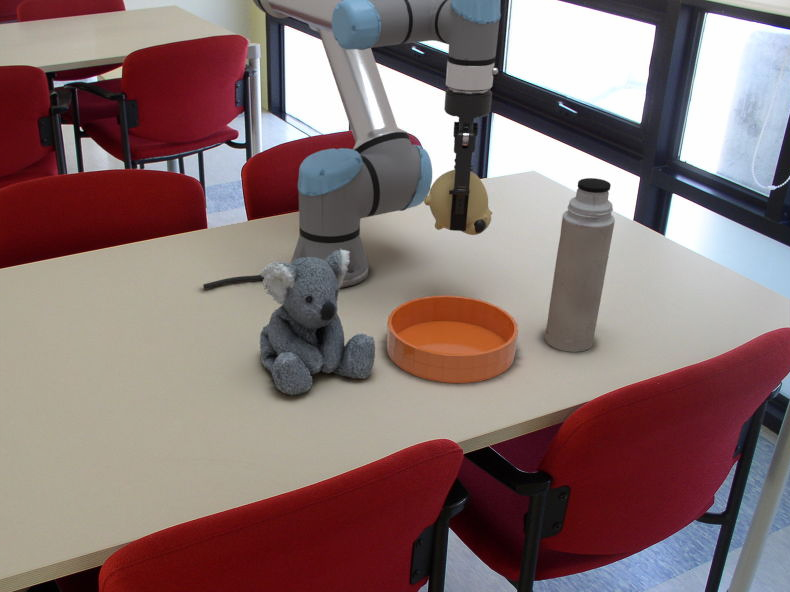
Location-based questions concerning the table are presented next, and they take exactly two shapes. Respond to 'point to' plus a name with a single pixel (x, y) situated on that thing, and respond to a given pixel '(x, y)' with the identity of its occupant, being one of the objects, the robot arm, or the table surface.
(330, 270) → the koala plush
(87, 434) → the table surface
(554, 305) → the thermos bottle
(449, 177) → the beige pug toy
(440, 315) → the pan
